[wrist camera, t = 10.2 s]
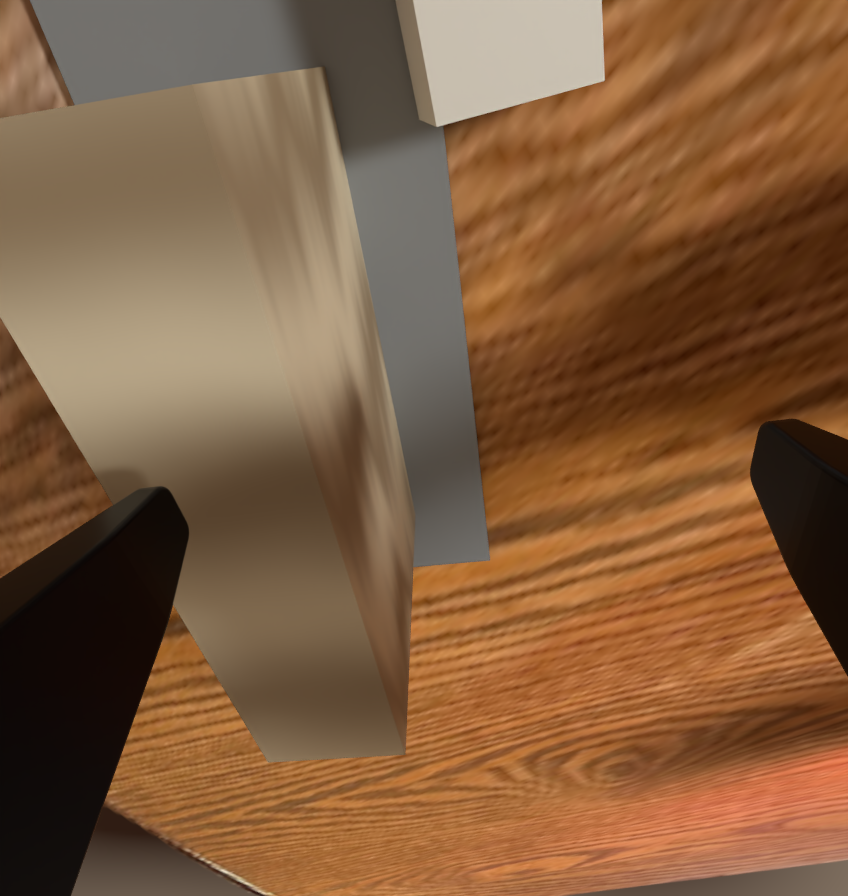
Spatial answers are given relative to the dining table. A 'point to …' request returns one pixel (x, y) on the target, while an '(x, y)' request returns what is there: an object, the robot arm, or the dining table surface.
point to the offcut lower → (497, 52)
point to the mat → (371, 186)
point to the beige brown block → (229, 381)
